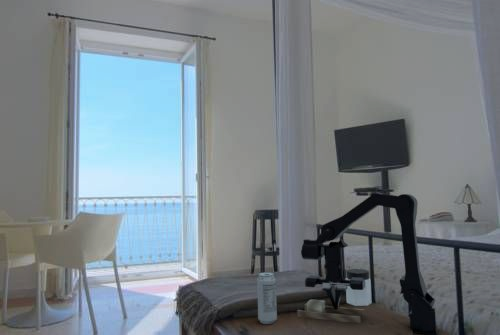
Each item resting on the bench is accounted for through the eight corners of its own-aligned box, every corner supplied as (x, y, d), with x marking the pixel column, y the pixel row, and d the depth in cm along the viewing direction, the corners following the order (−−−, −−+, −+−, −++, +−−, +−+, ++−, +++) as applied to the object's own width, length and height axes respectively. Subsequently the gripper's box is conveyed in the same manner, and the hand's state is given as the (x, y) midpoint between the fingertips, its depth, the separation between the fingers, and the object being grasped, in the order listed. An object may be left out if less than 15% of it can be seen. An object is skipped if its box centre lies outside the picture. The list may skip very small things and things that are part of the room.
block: (325, 312, 129) (325, 300, 130) (321, 317, 125) (321, 304, 125) (311, 311, 132) (310, 299, 132) (306, 315, 127) (306, 303, 127)
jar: (369, 301, 145) (367, 268, 146) (374, 307, 136) (372, 272, 137) (344, 301, 145) (343, 268, 146) (348, 307, 137) (347, 273, 138)
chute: (364, 316, 126) (364, 309, 126) (360, 325, 118) (359, 317, 118) (305, 310, 134) (305, 303, 135) (297, 318, 126) (297, 310, 126)
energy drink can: (272, 317, 127) (271, 271, 129) (280, 323, 122) (278, 274, 123) (255, 320, 125) (254, 273, 127) (262, 325, 120) (261, 276, 121)
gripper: (366, 257, 130) (369, 305, 129) (312, 256, 138) (314, 301, 137) (361, 263, 120) (364, 314, 119) (303, 261, 128) (305, 309, 127)
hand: (336, 309), depth 126 cm, fingers closed
